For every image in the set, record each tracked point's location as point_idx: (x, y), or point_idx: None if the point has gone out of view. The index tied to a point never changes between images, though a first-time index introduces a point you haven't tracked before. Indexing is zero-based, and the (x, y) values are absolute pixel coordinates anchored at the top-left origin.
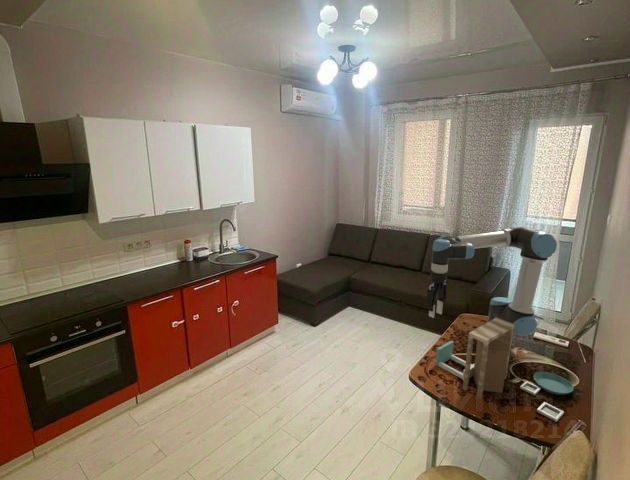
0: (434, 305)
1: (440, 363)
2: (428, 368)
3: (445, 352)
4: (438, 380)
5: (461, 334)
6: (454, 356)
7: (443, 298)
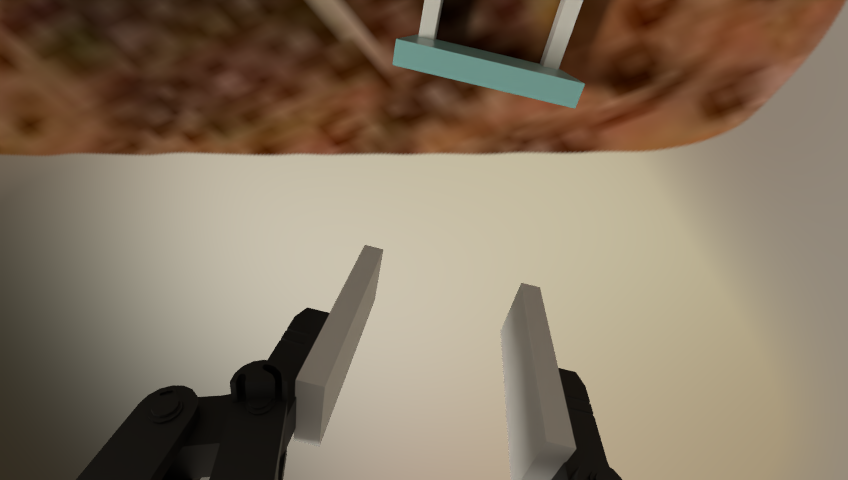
0: (560, 448)
1: (562, 56)
2: (603, 105)
3: (496, 58)
4: (708, 3)
5: (141, 92)
6: (430, 12)
7: (240, 449)
